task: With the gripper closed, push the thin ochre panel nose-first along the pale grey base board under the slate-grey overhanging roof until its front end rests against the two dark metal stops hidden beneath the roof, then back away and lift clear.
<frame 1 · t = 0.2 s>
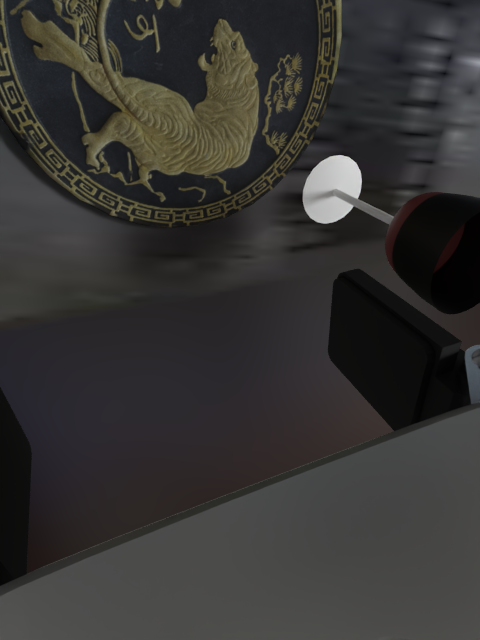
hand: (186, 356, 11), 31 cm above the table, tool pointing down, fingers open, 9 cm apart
wineglass: (331, 190, 47), on the table
decorative plate: (175, 48, 35), on the table
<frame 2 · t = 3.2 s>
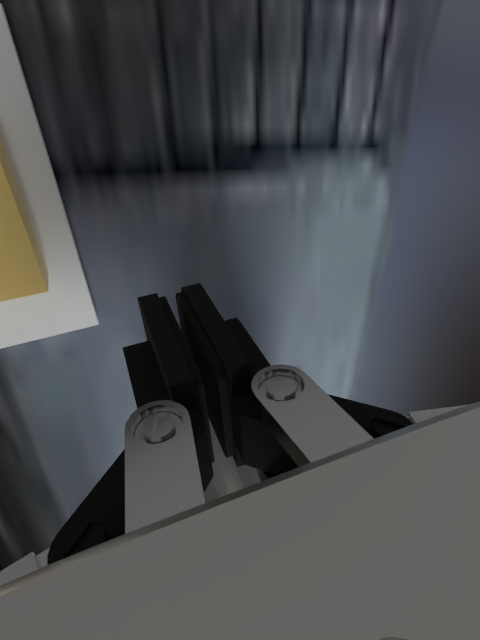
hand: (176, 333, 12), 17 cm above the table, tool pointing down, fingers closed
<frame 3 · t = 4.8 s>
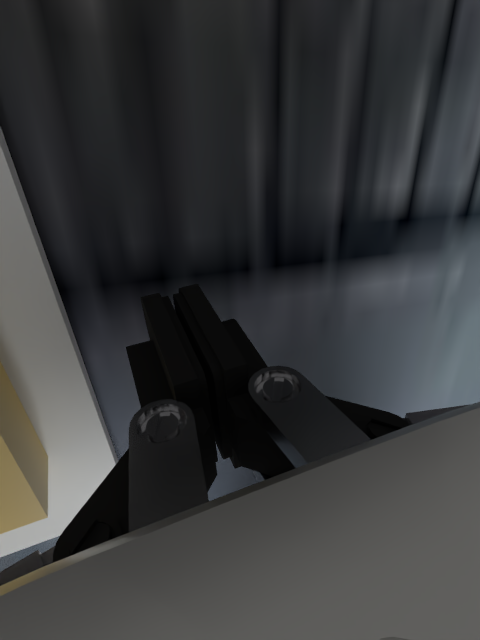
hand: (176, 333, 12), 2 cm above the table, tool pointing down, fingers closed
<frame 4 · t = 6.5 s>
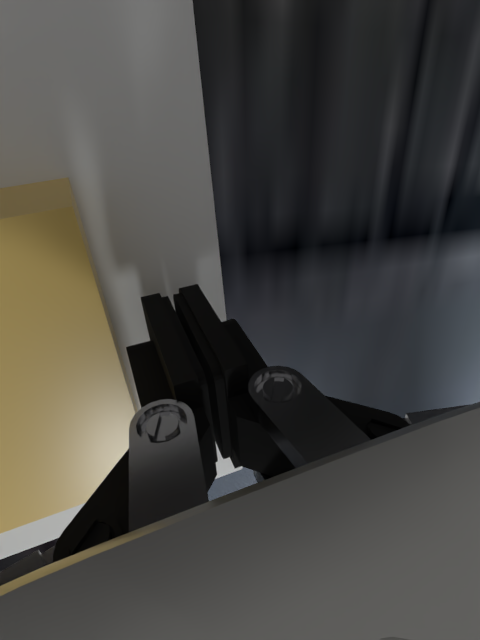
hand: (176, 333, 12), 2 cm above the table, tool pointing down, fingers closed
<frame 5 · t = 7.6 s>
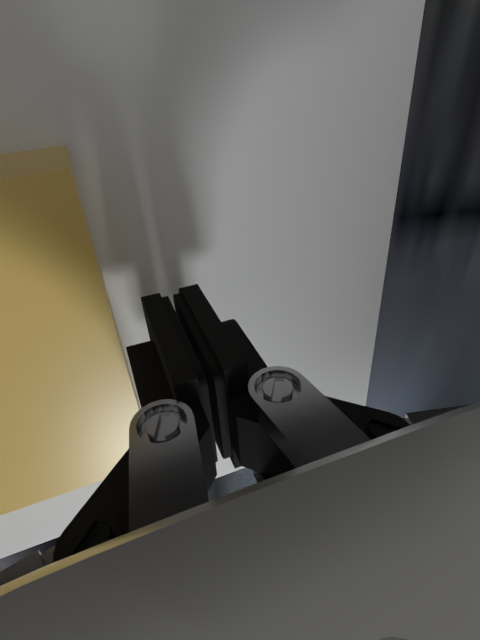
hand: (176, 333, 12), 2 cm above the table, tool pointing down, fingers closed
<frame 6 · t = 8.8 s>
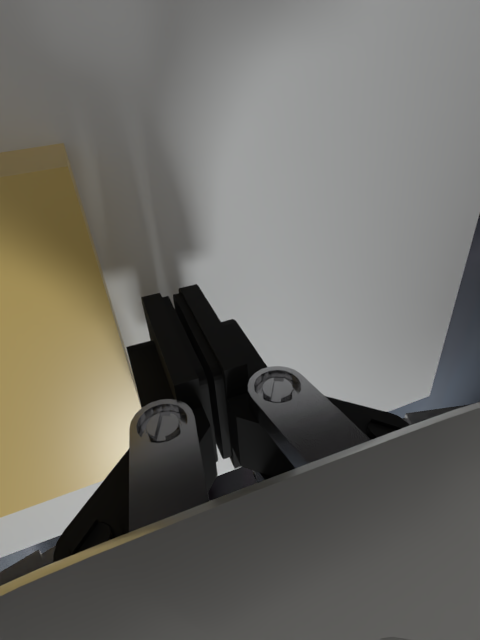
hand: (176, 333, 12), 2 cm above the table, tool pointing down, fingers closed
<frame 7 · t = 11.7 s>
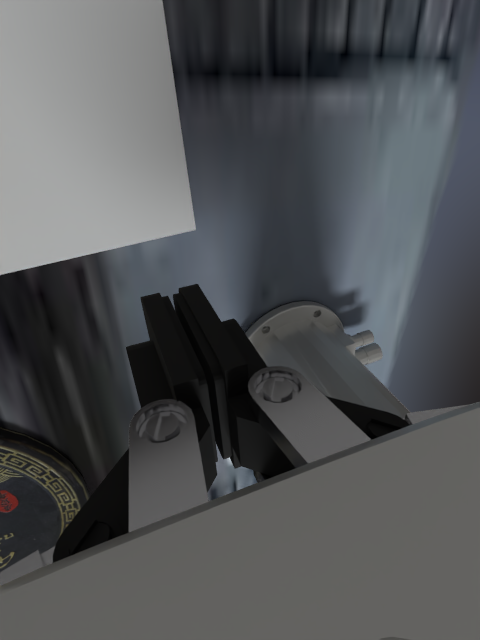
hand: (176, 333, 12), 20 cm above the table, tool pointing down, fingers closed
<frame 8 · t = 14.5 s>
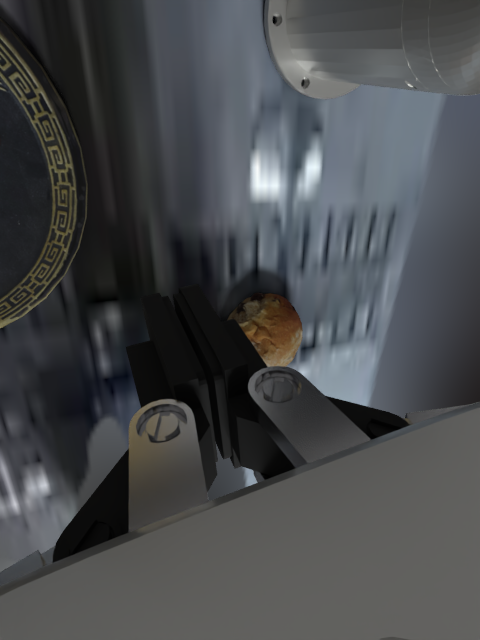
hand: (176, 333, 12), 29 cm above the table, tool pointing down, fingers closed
bread roll: (255, 324, 52), on the table
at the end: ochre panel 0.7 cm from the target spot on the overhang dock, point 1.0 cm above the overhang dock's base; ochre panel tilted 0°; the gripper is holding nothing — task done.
